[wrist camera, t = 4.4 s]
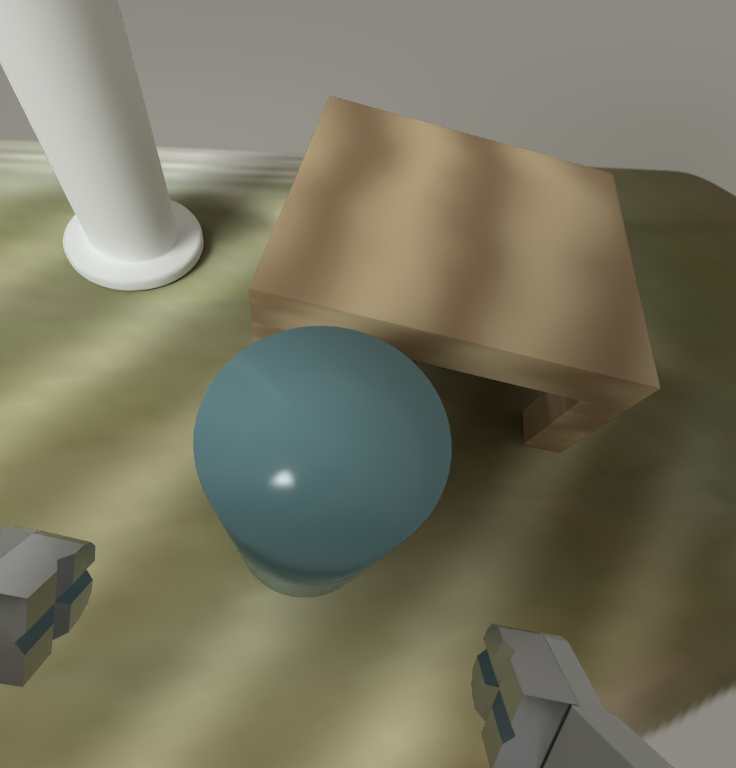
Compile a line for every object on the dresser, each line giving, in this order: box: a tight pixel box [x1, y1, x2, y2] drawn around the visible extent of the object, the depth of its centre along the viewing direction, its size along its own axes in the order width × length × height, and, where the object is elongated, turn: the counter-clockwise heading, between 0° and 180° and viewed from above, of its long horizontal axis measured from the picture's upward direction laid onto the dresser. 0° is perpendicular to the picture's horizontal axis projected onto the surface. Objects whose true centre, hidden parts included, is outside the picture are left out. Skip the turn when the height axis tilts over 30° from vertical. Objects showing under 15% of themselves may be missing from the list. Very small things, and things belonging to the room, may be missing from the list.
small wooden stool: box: [249, 96, 660, 452], centre depth 23 cm, size 16×14×7 cm
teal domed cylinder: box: [193, 326, 452, 597], centre depth 14 cm, size 6×6×10 cm
